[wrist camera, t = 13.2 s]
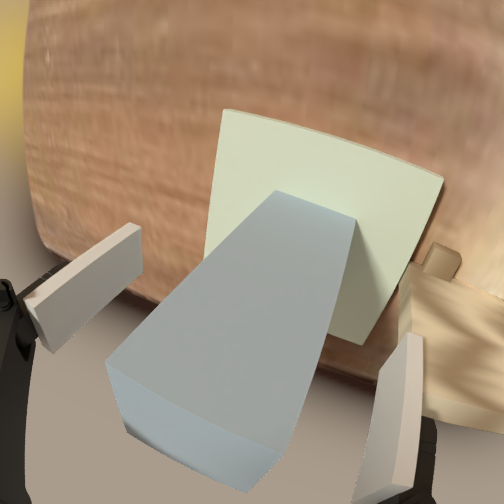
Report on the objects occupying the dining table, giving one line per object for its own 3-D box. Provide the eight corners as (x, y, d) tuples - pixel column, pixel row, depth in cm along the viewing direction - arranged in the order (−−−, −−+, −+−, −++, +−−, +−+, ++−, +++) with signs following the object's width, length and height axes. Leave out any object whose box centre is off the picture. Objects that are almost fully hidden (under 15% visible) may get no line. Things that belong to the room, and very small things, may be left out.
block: (275, 189, 19) (104, 361, 7) (356, 219, 17) (284, 454, 6) (258, 259, 21) (127, 433, 10) (328, 287, 20) (245, 494, 9)
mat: (206, 277, 25) (201, 282, 24) (229, 108, 18) (223, 109, 17) (363, 338, 22) (362, 345, 22) (441, 175, 15) (444, 179, 14)
